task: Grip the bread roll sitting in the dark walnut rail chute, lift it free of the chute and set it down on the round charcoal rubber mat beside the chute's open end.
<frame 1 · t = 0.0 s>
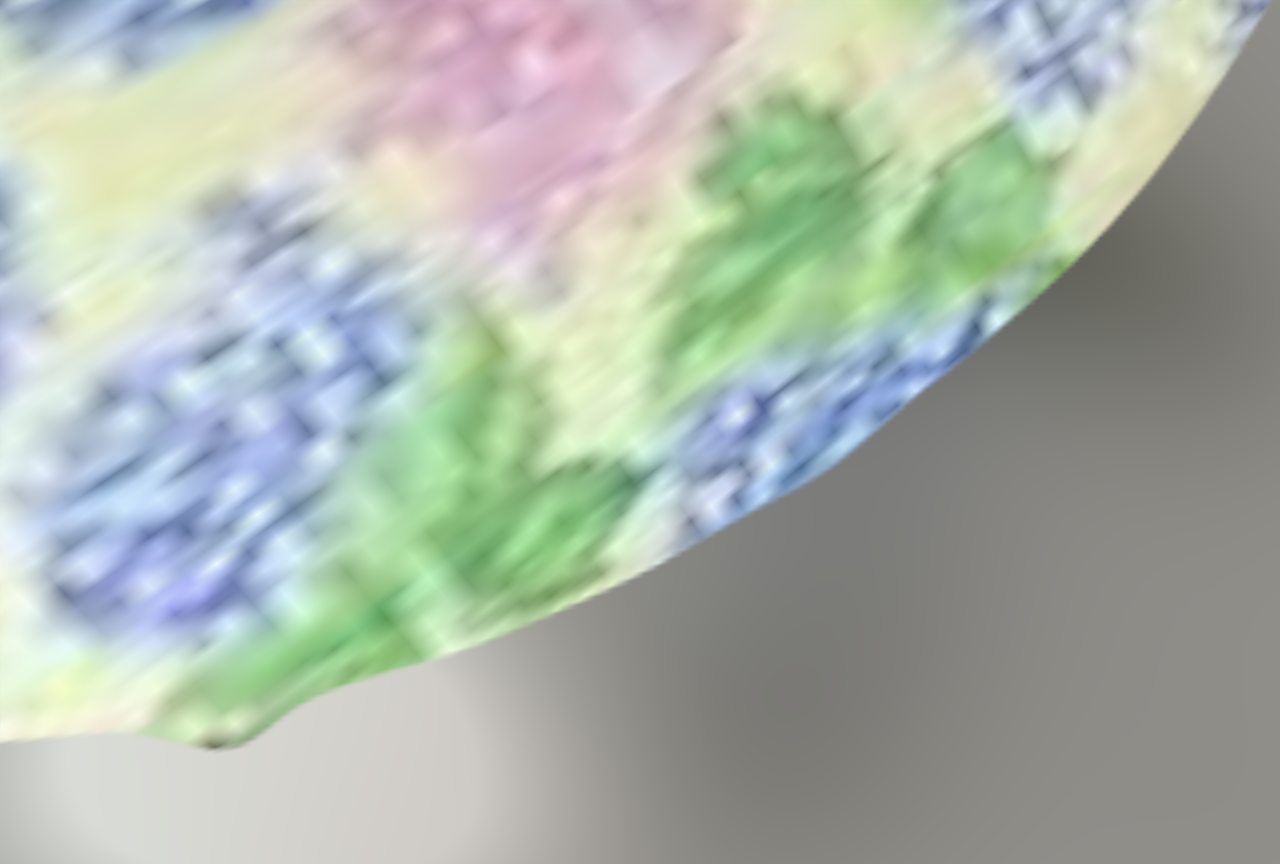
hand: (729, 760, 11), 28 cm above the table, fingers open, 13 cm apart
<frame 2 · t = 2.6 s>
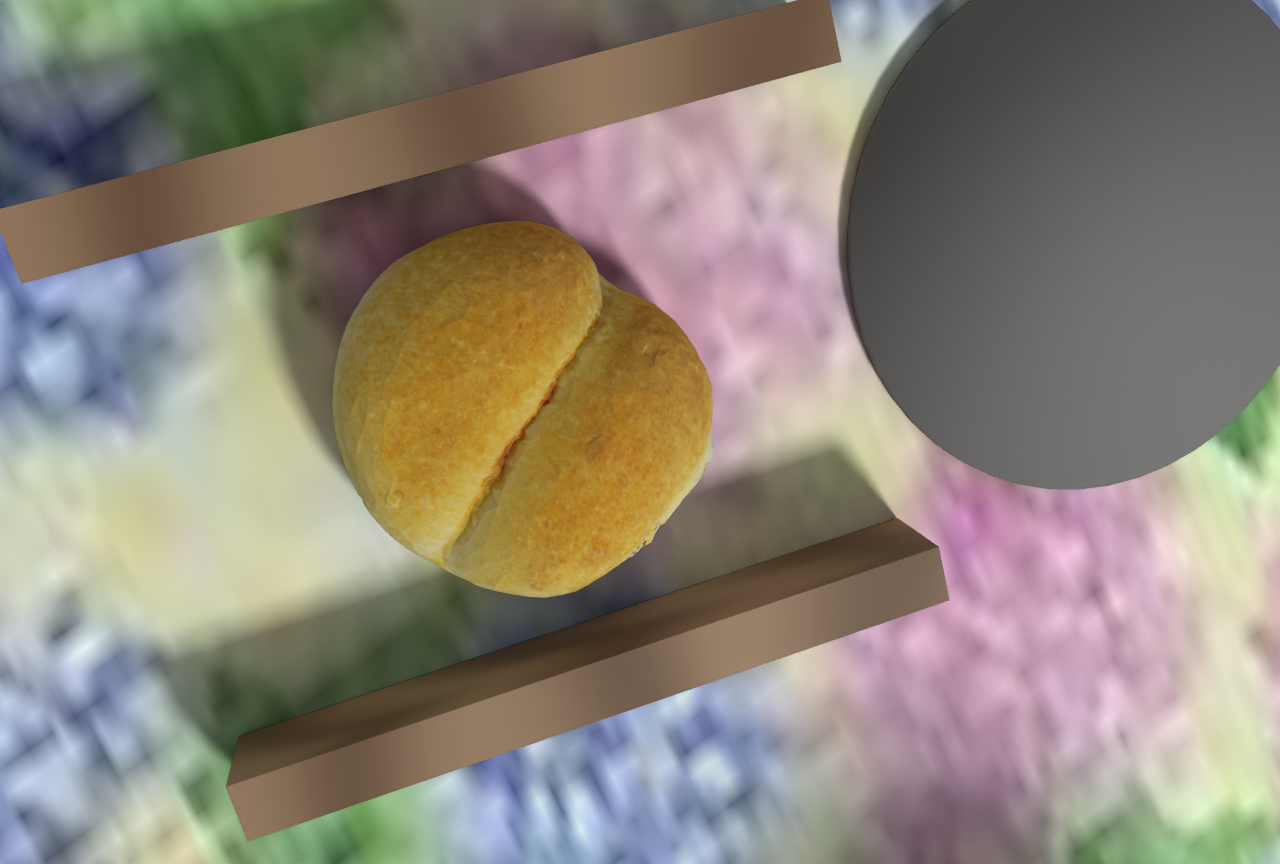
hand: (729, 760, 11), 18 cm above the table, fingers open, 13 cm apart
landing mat: (1095, 232, 31), on the table
bread roll: (521, 403, 29), on the table
chute: (517, 407, 29), on the table
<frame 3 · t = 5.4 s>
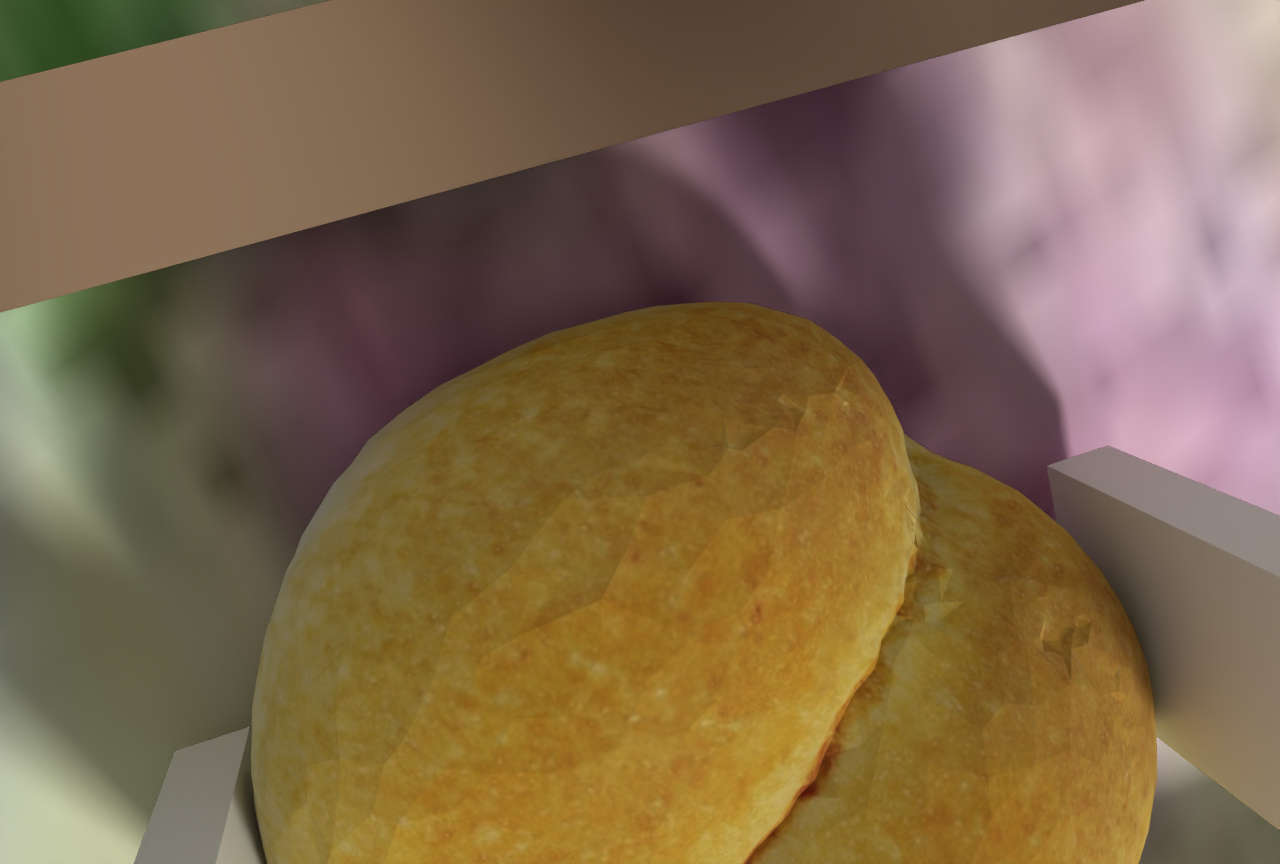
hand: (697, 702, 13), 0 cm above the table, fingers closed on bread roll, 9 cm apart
bread roll: (688, 690, 13), on the table, touching gripper
chute: (689, 688, 13), on the table
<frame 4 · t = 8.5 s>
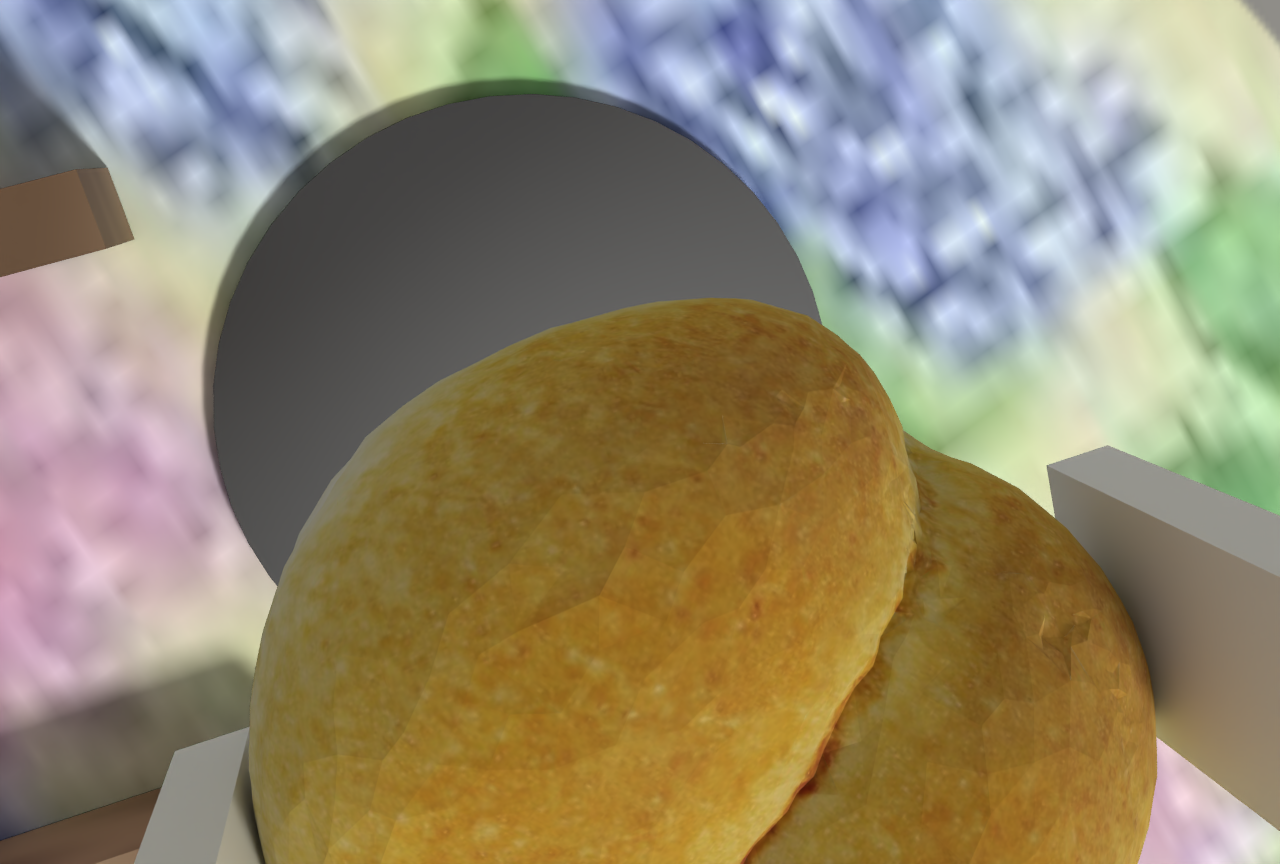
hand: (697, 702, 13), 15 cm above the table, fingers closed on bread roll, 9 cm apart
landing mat: (536, 411, 27), on the table
bread roll: (687, 687, 13), point 14 cm above the table, touching gripper
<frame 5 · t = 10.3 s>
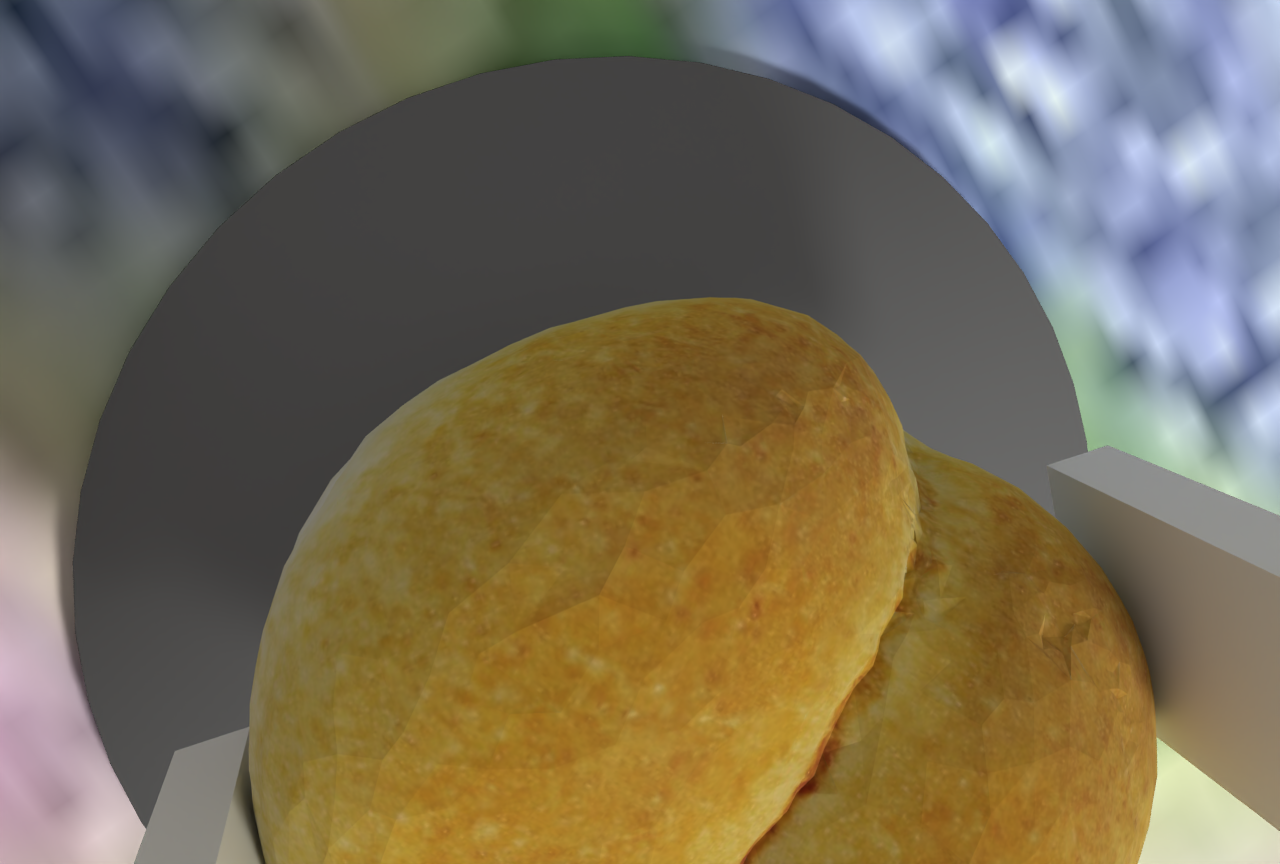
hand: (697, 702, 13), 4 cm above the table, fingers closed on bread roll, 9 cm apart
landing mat: (623, 585, 16), on the table
bread roll: (687, 687, 13), point 3 cm above the table, touching gripper
when the fingers open (2 cm above the table, at t = 11.7 s): bread roll drops 1 cm, resting on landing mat.
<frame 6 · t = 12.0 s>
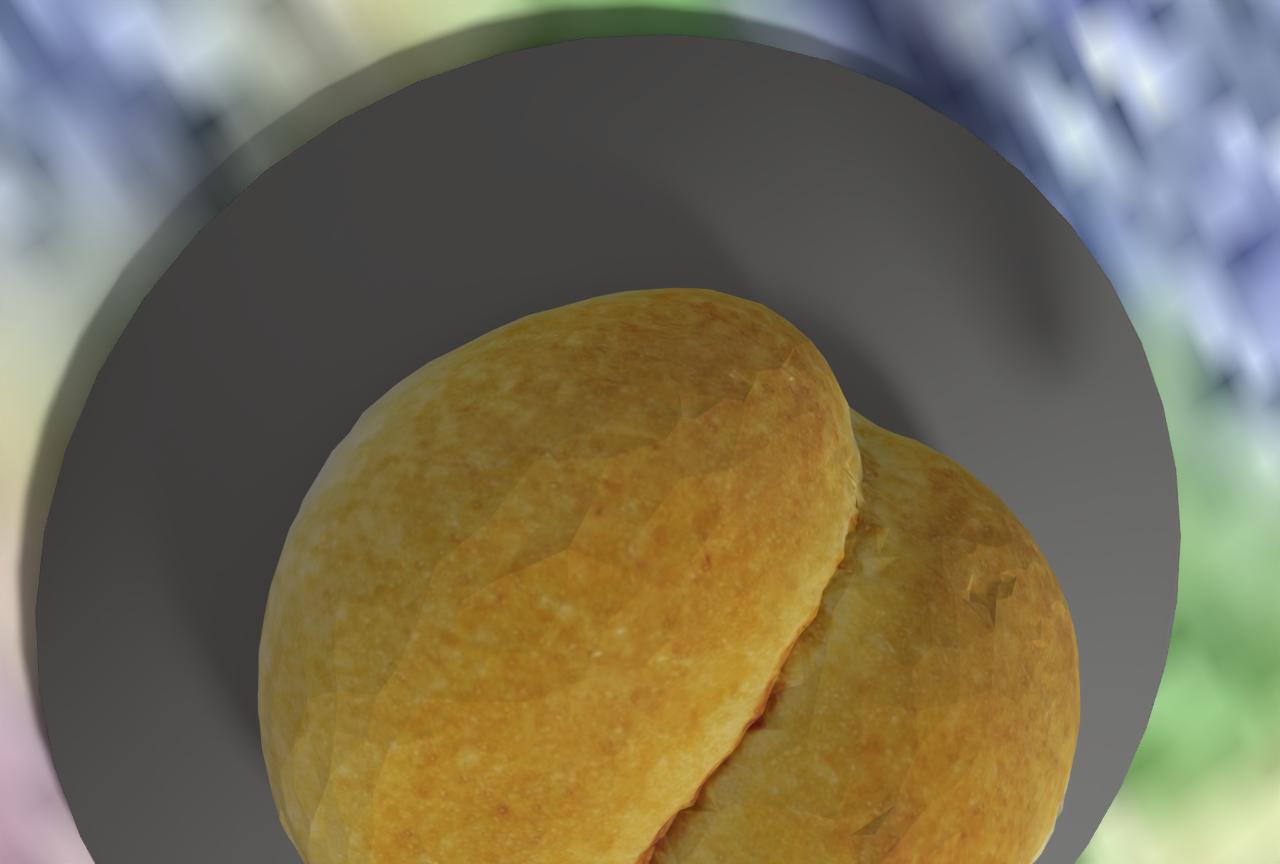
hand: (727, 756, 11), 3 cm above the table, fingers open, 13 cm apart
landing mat: (658, 631, 14), on the table
bread roll: (658, 646, 14), resting on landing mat
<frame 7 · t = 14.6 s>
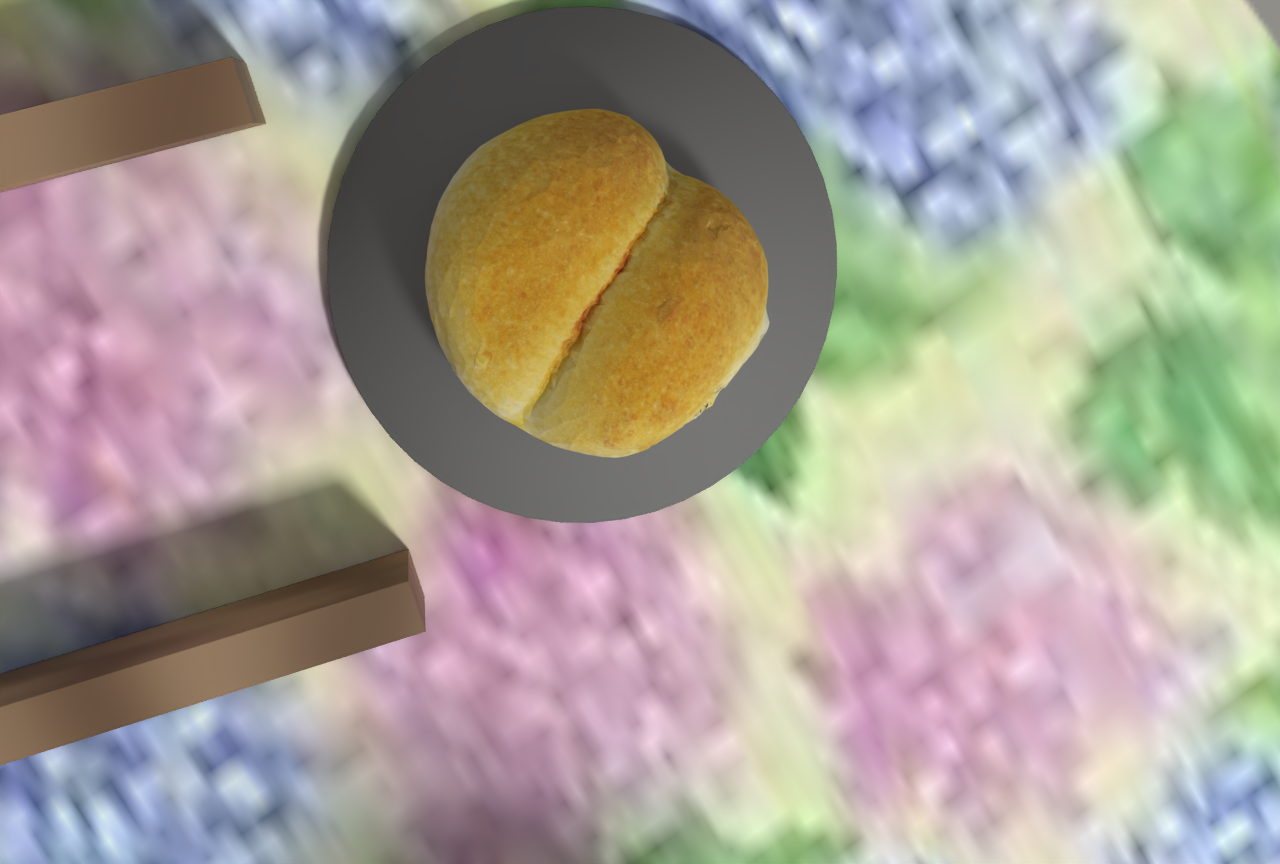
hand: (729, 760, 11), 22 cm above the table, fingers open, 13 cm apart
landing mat: (590, 277, 32), on the table
bread roll: (592, 282, 32), resting on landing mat
chute: (0, 444, 30), on the table
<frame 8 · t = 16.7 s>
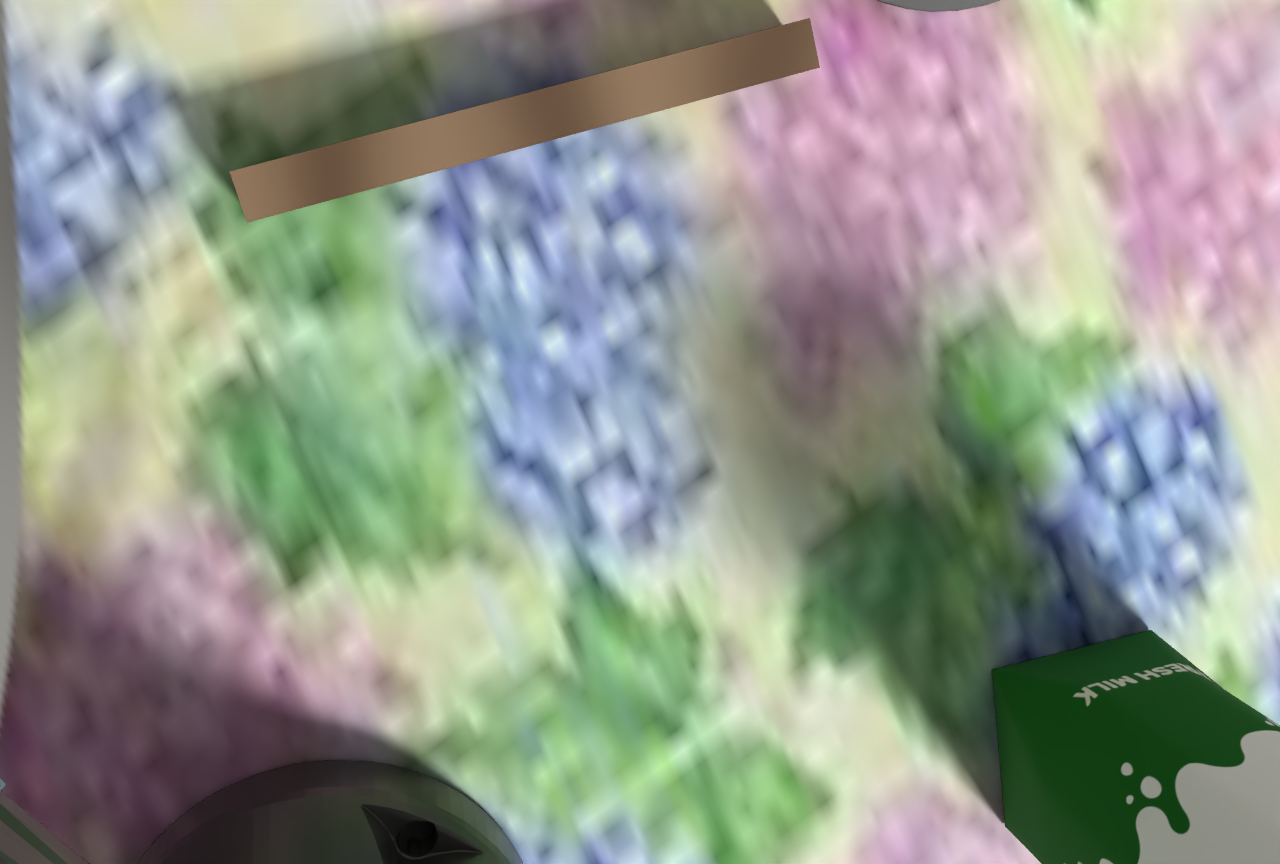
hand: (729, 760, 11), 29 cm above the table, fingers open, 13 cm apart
milk carton: (1073, 724, 47), on the table
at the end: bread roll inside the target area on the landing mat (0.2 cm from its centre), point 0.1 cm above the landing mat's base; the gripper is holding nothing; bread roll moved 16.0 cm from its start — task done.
